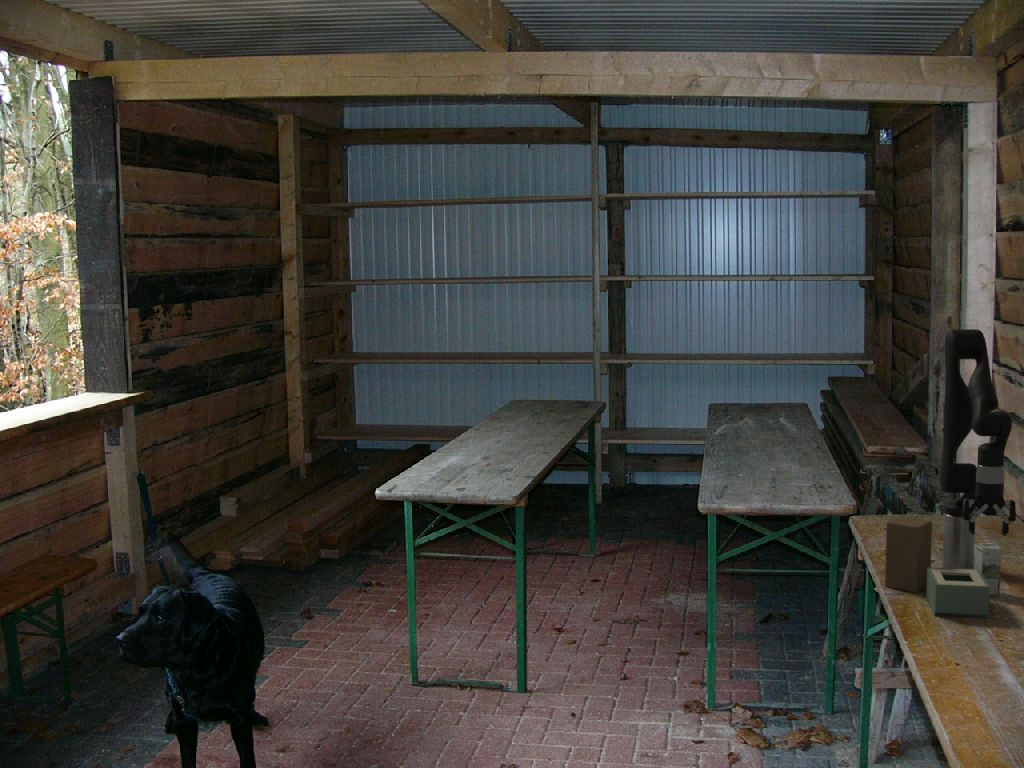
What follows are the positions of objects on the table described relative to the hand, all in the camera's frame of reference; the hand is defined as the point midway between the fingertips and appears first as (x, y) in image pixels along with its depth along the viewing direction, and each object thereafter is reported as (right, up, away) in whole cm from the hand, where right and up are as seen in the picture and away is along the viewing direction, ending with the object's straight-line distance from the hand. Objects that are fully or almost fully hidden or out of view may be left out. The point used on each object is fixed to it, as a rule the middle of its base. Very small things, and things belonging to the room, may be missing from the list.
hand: (988, 534), depth 327 cm
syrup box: (0, -18, +3) cm, 18 cm away
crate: (-13, -20, -9) cm, 25 cm away
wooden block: (-20, -17, +11) cm, 28 cm away
